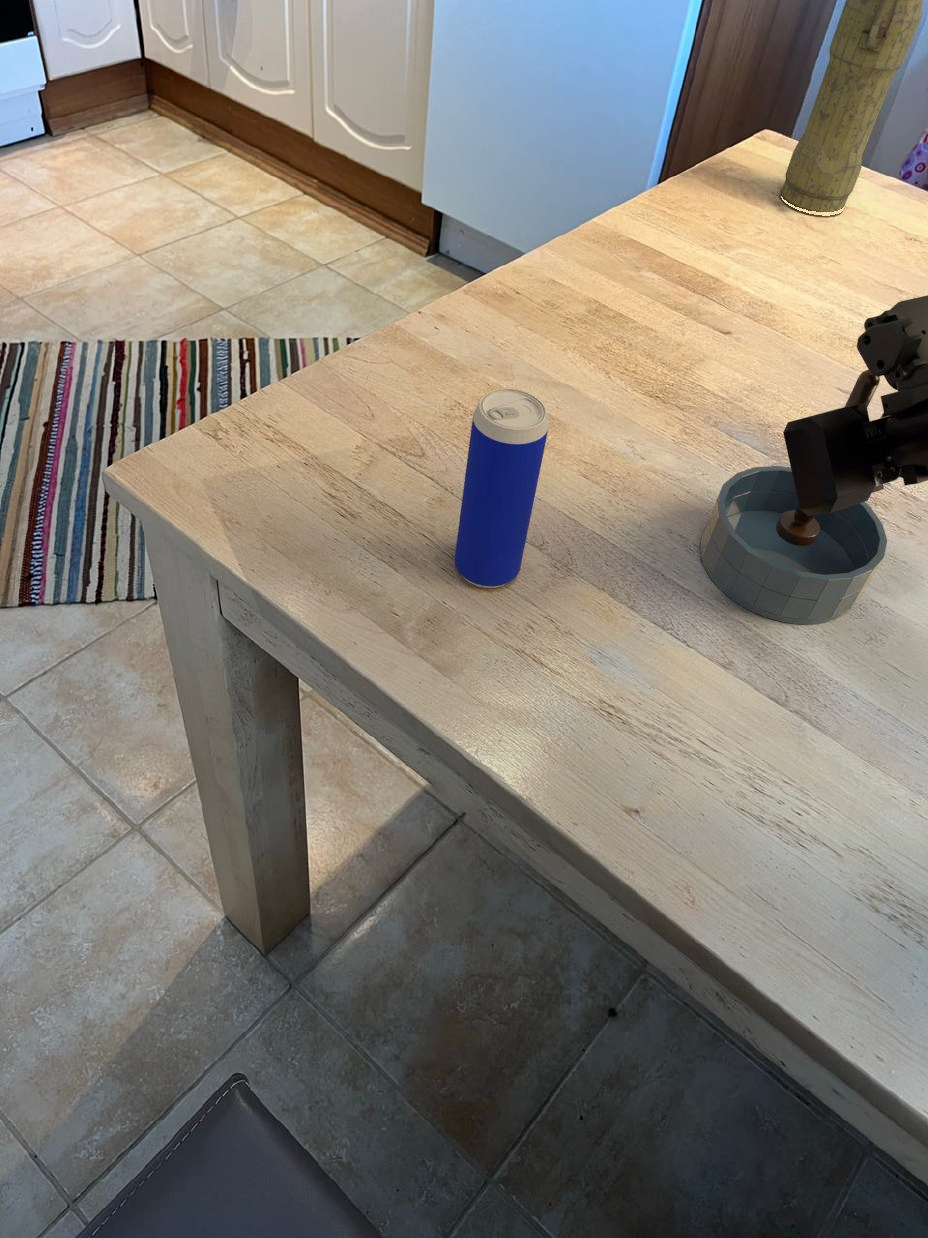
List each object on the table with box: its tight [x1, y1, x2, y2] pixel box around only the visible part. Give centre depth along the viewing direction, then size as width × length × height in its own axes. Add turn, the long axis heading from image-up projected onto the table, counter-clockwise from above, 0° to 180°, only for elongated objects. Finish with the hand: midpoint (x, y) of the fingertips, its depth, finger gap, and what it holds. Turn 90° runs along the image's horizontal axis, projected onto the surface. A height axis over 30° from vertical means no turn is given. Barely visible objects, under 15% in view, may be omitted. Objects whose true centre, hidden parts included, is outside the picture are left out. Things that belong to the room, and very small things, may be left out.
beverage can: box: [453, 387, 550, 589], centre depth 68 cm, size 5×5×15 cm
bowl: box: [699, 465, 888, 626], centre depth 76 cm, size 13×13×5 cm
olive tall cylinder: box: [779, 0, 924, 218], centre depth 115 cm, size 9×12×35 cm
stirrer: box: [776, 369, 881, 546], centre depth 70 cm, size 3×3×15 cm
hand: (814, 456), depth 71 cm, fingers closed on stirrer
